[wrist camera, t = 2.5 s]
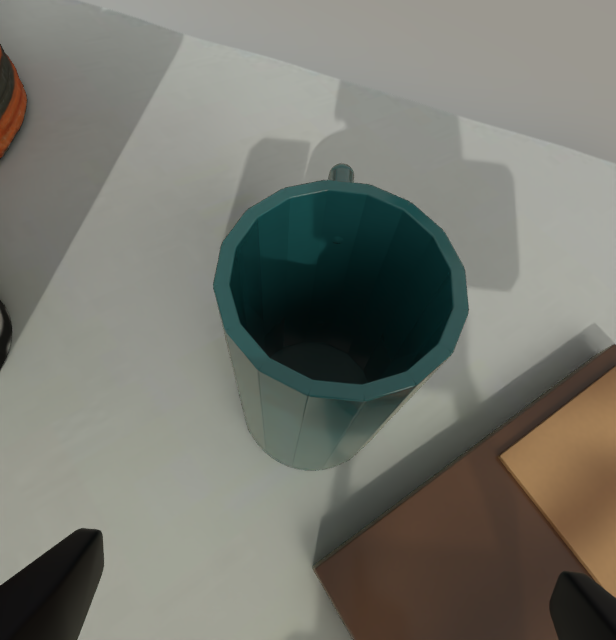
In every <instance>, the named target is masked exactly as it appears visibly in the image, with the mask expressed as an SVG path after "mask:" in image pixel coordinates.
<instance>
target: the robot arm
mask: <svg viewBox="0 0 616 640" xmlns="http://www.w3.org/2000/svg"><path fill="white" fill-rule="evenodd" d="M103 568H104V552H103V536H102V532H101V531H100V530H97V529H86V528H81V529H78V530H76V531H74V532H73V533H72V534H70V535H69V536H68V537H66V538H65V539H63V540H62V541H61V542H59V543H58V544H57V545H55V546H54V547H52V548H51V549H50V550H48V551H47V552H46V553H44V554H43V555H42V556H40V557H39V558H37V559H36V560H35V561H33V562H32V563H31V564H29V565H28V566H26V567H25V568H24V569H22V570H21V571H20V572H18V573H17V574H15V575H14V576H13V577H11V578H10V579H9V580H7V581H6V582H5V583H3V584H2V585H0V640H77V639H78V636H79V634H80V631H81V628H82V626H83V623H84V621H85V618H86V615H87V613H88V610H89V607H90V605H91V602H92V599H93V597H94V594H95V592H96V589H97V586H98V584H99V581H100V578H101V575H102V572H103ZM549 610H550V615H551V618H552V621H553V624H554V627H555V630H556V633H557V636H558V639H559V640H616V598H615V597H614V596H613V595H611V594H610V593H609V592H608V591H607V590H605V589H604V588H603V587H602V586H600V585H599V584H598V583H597V582H595V581H594V580H593V579H592V578H590V577H589V576H588V575H586V574H584V573H581V572H572V571H563V572H561V573H560V574H559V576H558V579H557V582H556V584H555V587H554V590H553V593H552V595H551V598H550V602H549Z"/></svg>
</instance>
